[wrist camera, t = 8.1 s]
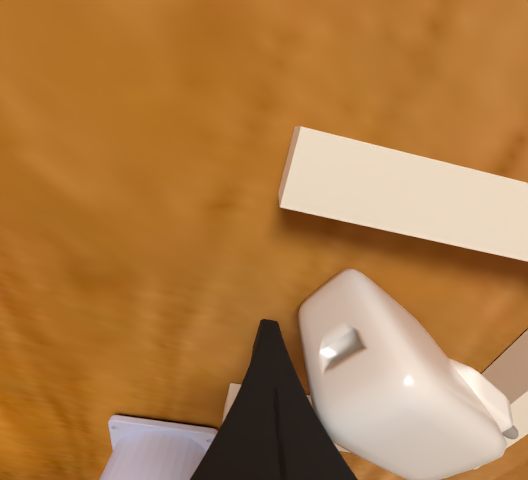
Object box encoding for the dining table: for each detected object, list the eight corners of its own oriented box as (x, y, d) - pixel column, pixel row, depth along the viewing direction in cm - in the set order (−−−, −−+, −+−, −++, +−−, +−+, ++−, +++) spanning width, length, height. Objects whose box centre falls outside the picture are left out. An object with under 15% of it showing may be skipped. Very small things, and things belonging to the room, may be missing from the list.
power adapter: (475, 356, 14) (608, 502, 8) (404, 392, 15) (477, 532, 10) (356, 247, 10) (449, 373, 5) (282, 308, 12) (296, 450, 7)
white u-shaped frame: (456, 438, 18) (475, 469, 16) (225, 403, 16) (220, 434, 14) (707, 229, 10) (795, 249, 8) (294, 126, 8) (301, 126, 7)
